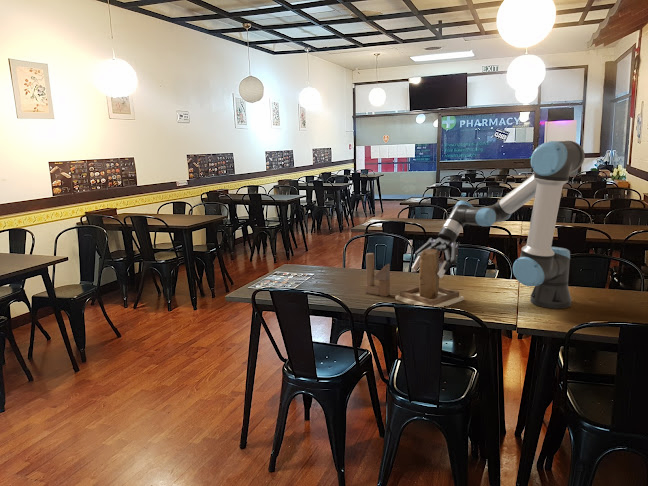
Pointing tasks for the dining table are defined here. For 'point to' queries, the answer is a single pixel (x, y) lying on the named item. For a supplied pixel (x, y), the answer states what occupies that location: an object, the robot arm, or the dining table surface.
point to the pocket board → (442, 299)
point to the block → (429, 274)
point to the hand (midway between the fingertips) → (426, 272)
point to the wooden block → (382, 276)
